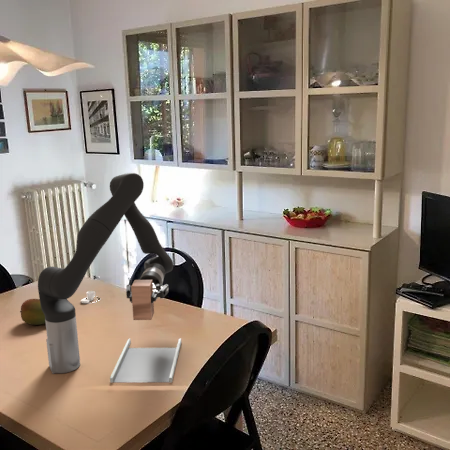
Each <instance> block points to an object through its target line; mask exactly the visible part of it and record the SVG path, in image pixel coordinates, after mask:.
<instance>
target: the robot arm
mask: <svg viewBox="0 0 450 450" xmlns="http://www.w3.org/2000/svg"><path fill="white" fill-rule="evenodd" d="M144 186H145V185H144V179H143V178H142V176H141V175H140V174H138V173H137V172H126V173H123V174H119V175H116V176H114V177H112V178H111V181H110V182H109V191H110V193H111V197H110V198H109V199H108V200H107V201H106V202H105V203H103V204H102V205H101V206H99V207H98V208H97V209H96V210H95V211H94V212H93V213H92V214H91V215H90V216H88V218H87V219H86V221H84V223H83V224H82V225H81V228H80V229H79V230H78V233H77V237H76V246H75V247H76V248H75V253H74V255H73V257H72V258H71V260H70V261H69V262H68V264H67V265H66V266H65V267H64V268H62V267H57V266H48V267H45V268H44V269H42V271H41V272H40V273H39V275H38V279H37V290H38V291H37V292H38V299H40V304H41V309H42V311H43V313H44V315H45V322H46V323H45V328H46V329H45V331H46V348H47V359H48V365H49V368H50V371H51V374H66V373H70V372H73V371H75V370H77V369H78V368H79V367H80V366H81V357H80V347H79V337H78V335H79V334H78V329H77V328H78V326H77V314H76V307H75V305H74V304H72V303H71V302H70V301H69V299H70V298H71V297H72V296H74V295H75V293H76V292H77V290H78V288H79V287H80V285H81V283H82V282H83V279H84V278H85V275H87V272H88V270H89V269H90V267H91V265H92V263H93V262H94V260H95V259H96V257H97V256H98V254H99V252H100V251H101V249H103V247H104V245H106V243H107V241H108V240H109V239H110V237H111V235H112V234H113V233H114V231H115V230H116V228H117V226H118V225H119V223H120V222H121V221H122V220H123V218H124V217H125V218H126V220H127V222H128V224H129V226H130V228H131V229H132V231H133V234H134V235H135V239H136V240H137V243H138V246H139V247H140V250H141V252H142V253H143V254H144V255H149V254H151V255H152V254H155V255H156V256H154V257H152V258H148V259H146V261H145V262H144V263H143V267H144V268H143V269H144V271H143V273H142V274H141V276H140V277H139V278H138V280H152V281H153V293H152V295H151V303H154V302H156V301H157V300H158V298H160V299H163V298H165V297H167V295H168V293H169V284H167V283H166V284H164V285H163V283H164V278H165V276H166V274H168V273H170V272H172V271H173V269H174V262H173V260H172V258H171V256H170V255H169V254H168V253H167V251H166V250H165V248H164V247H163V246H162V245H161V244H162V243H160V241H159V239H158V235H157V234H156V230H155V229H154V226H152V224H151V223H150V221H149V220H148V219H147V218H146V217H145V216H144V215H143V213H141V211H140V209H139V208H138V206H137V205H136V203H135V202H136V201H137V199H139V197H140V196H141V195H142V193H143V190H144V188H145V187H144ZM131 286H132V285H131V284H126V286H125V287H126V289H125V294H126V299H129V302H130V303H131V304H132V290H131ZM154 304H155V303H154Z"/></svg>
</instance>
